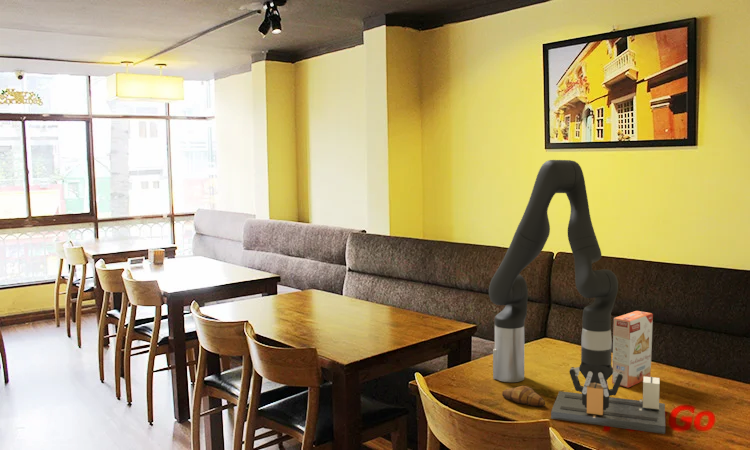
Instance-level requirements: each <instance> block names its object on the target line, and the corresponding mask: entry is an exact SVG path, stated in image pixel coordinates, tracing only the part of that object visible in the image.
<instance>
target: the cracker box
mask: <svg viewBox="0 0 750 450" xmlns="http://www.w3.org/2000/svg"><path fill="white" fill-rule="evenodd" d="M653 318H654V313H652V312H646V311H640V310H635V311H632V312H628V313H626V314H625V313H624V314H622V315H619V316H616V317H613V330H612V331H613V332H612V333H613V334H612V335H613V338H612V340H613V341H612V364H611V366H612V368H613V370H614V371H616V372H622V373H623V378H622V381H621V383H620V386H622V387H623V388H630V387H633V386H635V385H638V384H639V383H641V382H642V383H643V377H644V376H645V377H652V375H651V372H652V371H651V370H652V367H651V366H652V351H653V350H652V345H653V325H654V324H653V323H654V322H653V320H654V319H653ZM615 381H616V380H614V376H613V375H611V383H612V384H613V385H614V383H615ZM620 386H619V387H620Z"/></svg>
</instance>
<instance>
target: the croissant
mask: <svg viewBox="0 0 750 450" xmlns="http://www.w3.org/2000/svg"><path fill="white" fill-rule="evenodd" d="M501 395H502V397H503V398H504V399H506V400H509V401H512V402H515V403H518V404H520V405H526V406H531V407H538V408H541V407H545V406H546V402H545V400H544V399H543V397H542V396H540V395H539V393H538V392H536V391H535V390H534V389H533V388H531V387H530V386H527V385H521V386H517V387H511V388H506V389H503V391H502V393H501Z"/></svg>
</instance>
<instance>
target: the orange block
mask: <svg viewBox="0 0 750 450" xmlns="http://www.w3.org/2000/svg"><path fill="white" fill-rule="evenodd" d="M603 396H604V393H603V388H602V386H601V384H598V383H590V384H589V387H588V386H587V413H590V414H598V415H603V411H604V410H603Z"/></svg>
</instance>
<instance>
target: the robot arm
mask: <svg viewBox="0 0 750 450" xmlns="http://www.w3.org/2000/svg"><path fill="white" fill-rule="evenodd" d="M585 181H586V180H585V177H584V172H583V169H582V167H581V165H580V163H579V162H576V161H575V160H570V159H569V160H568V159H549V160H547V161H545V162H544V163H543V164H542V165H541V166H540V167H539V170H538V172H537V176H536V179H535V181H534V185H533V187H532V191H531V194H530V197H529V200H528V203H527V205H526V208H525V210H524V212H523V215H522V217H521V219H520V221H519V223H518V225H517V228H516V230H515V233H514V234H513V237H512V240H511V242H510V244H509V246H508V248H507V250H506V253H505V255H504V256H503V259H502V261H501V262H500V265H499V266H498V268H497V270H496V271H495V273H494V275H493V277H492V278H491V280H490V283H489V286H488V297H489V300H490V302H492V304H494V305H496V306H504V308H503V309H502V310H501V311H500V312H499V313H497V314H496V315H495V316H494V348H493V349H492V365H493V366H492V367H493V368H492V379H493V380H497V381H500V382H504V383H519V382H523V381H524V380H525V321H526V319H527V314H528V298H529V297H528V296H529V295H528V293H529V292H528V284H527V282H526V279H525V277H523V275H522V274H520V273H521V272H522V271H523V270H525V268H527V267H528V265H530V264H531V263H532V262H533V261H535V259H536V258H537V257H538V256H540V254H541V253H542V250H543V249H544V248H545V245H546V243H547V241H548V239H549V236H550V233H551V226H550V220H549V216H548V215H549V214H548V209H549V206H550V204H551V201H552V199H553V197H554V196H555V195H556V194H565V195H566V196H567V199H568V202H569V206H570V214H569V221H568V224H567V225H568V226H567V239H568V244H569V246H570V249H571V252H572V256H573V259H574V277H575V278H574V279H575V280H574V282H575V283H574V284H575V287H576V290H577V292H578V293H579V294H580V296H582V297H583V298H585V299H594V301H593V302H592V303H590V304H588V305H587V306H584V308H583V310H582V329H581V330H582V331H581V336H580V337H581V339H580V340H581V347H580V348H581V351H580V352H581V354H580V355H581V357H580V360H581V361H580V365H579V366H577V367H574V366H572V367H570V369H569V371H568V373H569V375H570V378H571V381H572V384H573V387H574V389H575V391H576V392H578V393H579V392H580V394H582V404H583V405H585V408H587V386H588V387H589V384H590V383H598V384H601V386H602V388H603V393H604V396H603V410H606V408H608V407H609V397H612V396H616V395H617V393H618V391H619V388H620V383H621V381H622V378H623V373H622V372H616V371H614V370H613V368H612V346H613V341H612V340H613V338H612V331H611V330H612V329H611V328H612V326H611V325H612V312H613V309H614V305H615V302H616V298H617V295H618V290H619V280H618V278H617V275H616V274H615V273H614V272H613V271H612V270H611V269H598V270H597V269H596V270H593V263H596V262H598V261H599V260H600V259H601V258H602V250H601V247H600V245H599V242H598V239H597V235H596V233H595V228H594V226H593V223H592V218H591V212H590V206H589V201H588V193H587V187H586V182H585ZM580 374H581V375H582V376H583V377H584V378H585V381H584V383H583V385H581V382H580V380H579V375H580ZM612 375H613V376H614V380H616V381H615V383H614V384H613V386H612V388H610V387H609V384H608V379H609V378H610V377H612Z"/></svg>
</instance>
